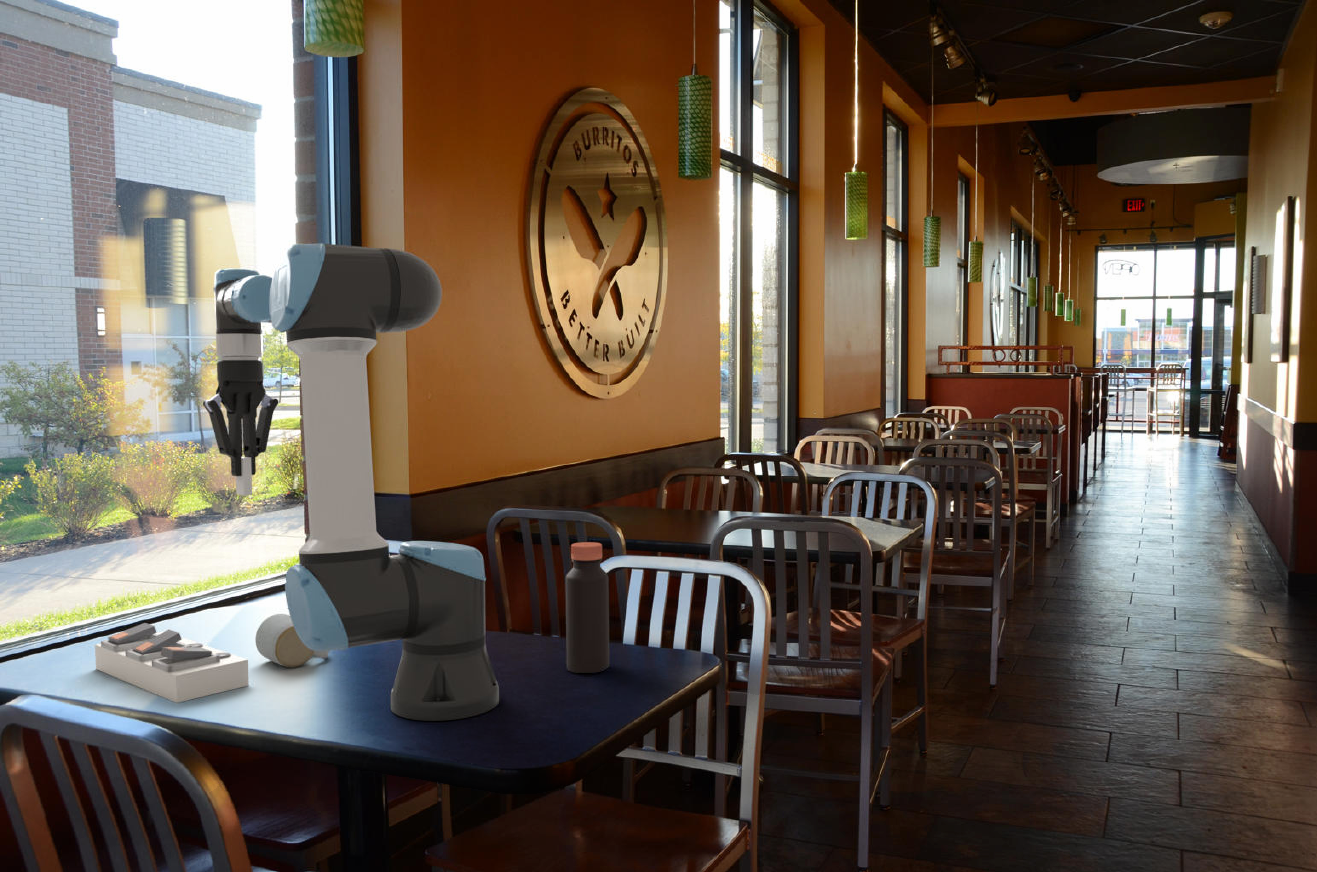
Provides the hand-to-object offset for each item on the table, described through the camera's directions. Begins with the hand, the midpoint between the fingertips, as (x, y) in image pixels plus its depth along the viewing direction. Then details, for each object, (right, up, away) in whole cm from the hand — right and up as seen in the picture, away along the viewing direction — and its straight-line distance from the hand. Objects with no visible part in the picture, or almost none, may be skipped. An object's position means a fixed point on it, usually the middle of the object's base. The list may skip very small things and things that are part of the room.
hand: (244, 494), depth 184 cm
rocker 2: (+2, -23, -26) cm, 35 cm away
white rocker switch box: (-4, -28, -19) cm, 34 cm away
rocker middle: (-5, -23, -21) cm, 31 cm away
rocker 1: (-12, -22, -15) cm, 29 cm away
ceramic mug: (+12, -27, -11) cm, 32 cm away
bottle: (+61, -27, -16) cm, 69 cm away
